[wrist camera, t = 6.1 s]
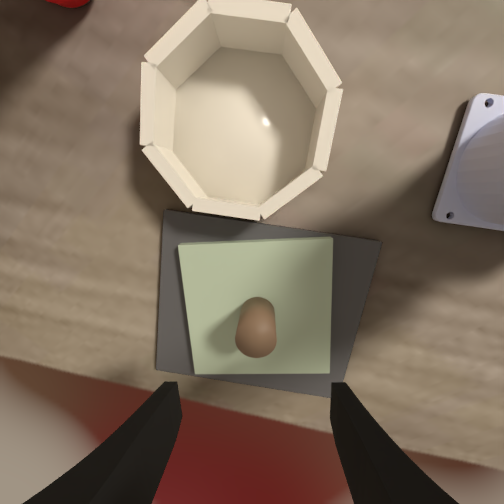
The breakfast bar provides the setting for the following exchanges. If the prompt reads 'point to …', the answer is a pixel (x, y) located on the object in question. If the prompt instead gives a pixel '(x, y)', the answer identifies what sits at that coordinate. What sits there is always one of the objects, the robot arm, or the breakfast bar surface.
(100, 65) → the breakfast bar surface
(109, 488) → the robot arm
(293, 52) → the bowl
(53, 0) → the beverage can
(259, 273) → the lid
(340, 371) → the mat
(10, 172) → the breakfast bar surface
